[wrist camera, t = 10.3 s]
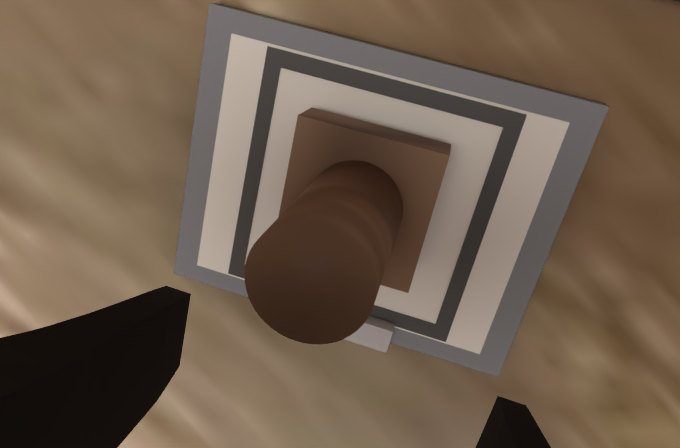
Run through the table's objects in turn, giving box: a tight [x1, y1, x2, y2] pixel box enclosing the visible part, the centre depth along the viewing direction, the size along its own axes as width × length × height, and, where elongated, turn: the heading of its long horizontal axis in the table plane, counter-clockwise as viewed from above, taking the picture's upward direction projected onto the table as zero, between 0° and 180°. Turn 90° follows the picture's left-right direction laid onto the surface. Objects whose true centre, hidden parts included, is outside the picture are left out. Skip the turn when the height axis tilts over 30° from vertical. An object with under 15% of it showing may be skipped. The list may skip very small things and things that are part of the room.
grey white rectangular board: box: [174, 3, 609, 377], centre depth 21 cm, size 14×11×2 cm
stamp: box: [244, 107, 451, 344], centre depth 17 cm, size 5×5×8 cm
